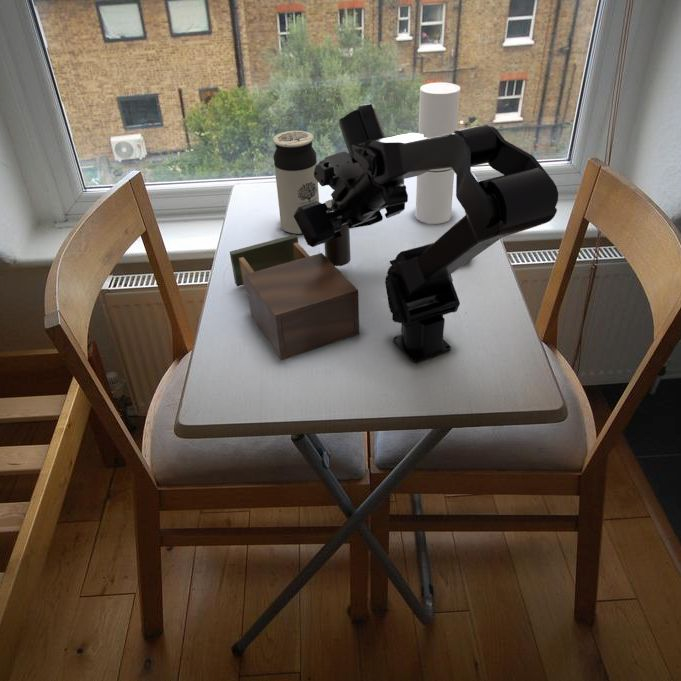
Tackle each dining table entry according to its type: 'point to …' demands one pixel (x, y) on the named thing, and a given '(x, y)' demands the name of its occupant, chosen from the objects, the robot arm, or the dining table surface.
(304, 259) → the cabinet
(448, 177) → the cylindrical container
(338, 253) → the lidded jar
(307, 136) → the travel mug
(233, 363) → the dining table surface
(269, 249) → the drawer
